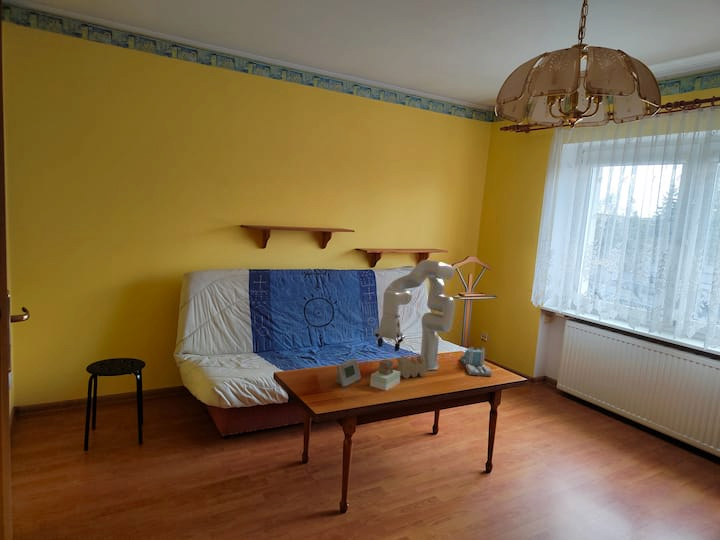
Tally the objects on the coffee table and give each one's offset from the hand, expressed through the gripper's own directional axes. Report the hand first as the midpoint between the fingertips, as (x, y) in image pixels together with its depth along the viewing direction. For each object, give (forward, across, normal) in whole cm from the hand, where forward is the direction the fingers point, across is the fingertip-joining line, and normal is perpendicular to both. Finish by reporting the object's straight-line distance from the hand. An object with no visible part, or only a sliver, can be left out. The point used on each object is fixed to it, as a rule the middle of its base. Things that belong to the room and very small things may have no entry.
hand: (388, 348), depth 233 cm
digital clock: (+18, +15, +12) cm, 27 cm away
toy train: (+19, -4, -20) cm, 28 cm away
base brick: (+18, 0, +1) cm, 18 cm away
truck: (+21, -25, -59) cm, 67 cm away
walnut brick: (+12, 0, +1) cm, 12 cm away
